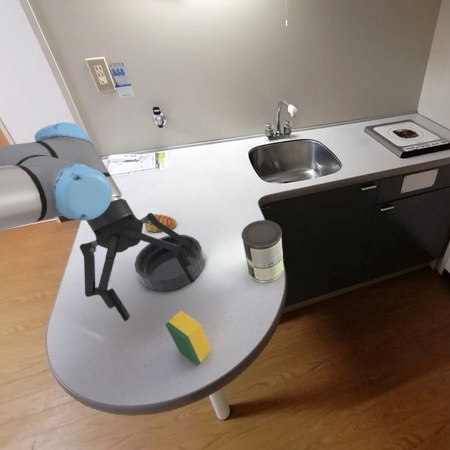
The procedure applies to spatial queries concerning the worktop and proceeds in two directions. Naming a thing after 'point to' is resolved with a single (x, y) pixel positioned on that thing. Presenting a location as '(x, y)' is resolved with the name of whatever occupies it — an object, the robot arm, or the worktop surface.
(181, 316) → the sponge
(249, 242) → the coffee can
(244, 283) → the worktop surface
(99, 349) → the worktop surface
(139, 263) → the bowl
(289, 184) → the worktop surface
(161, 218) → the pastry
